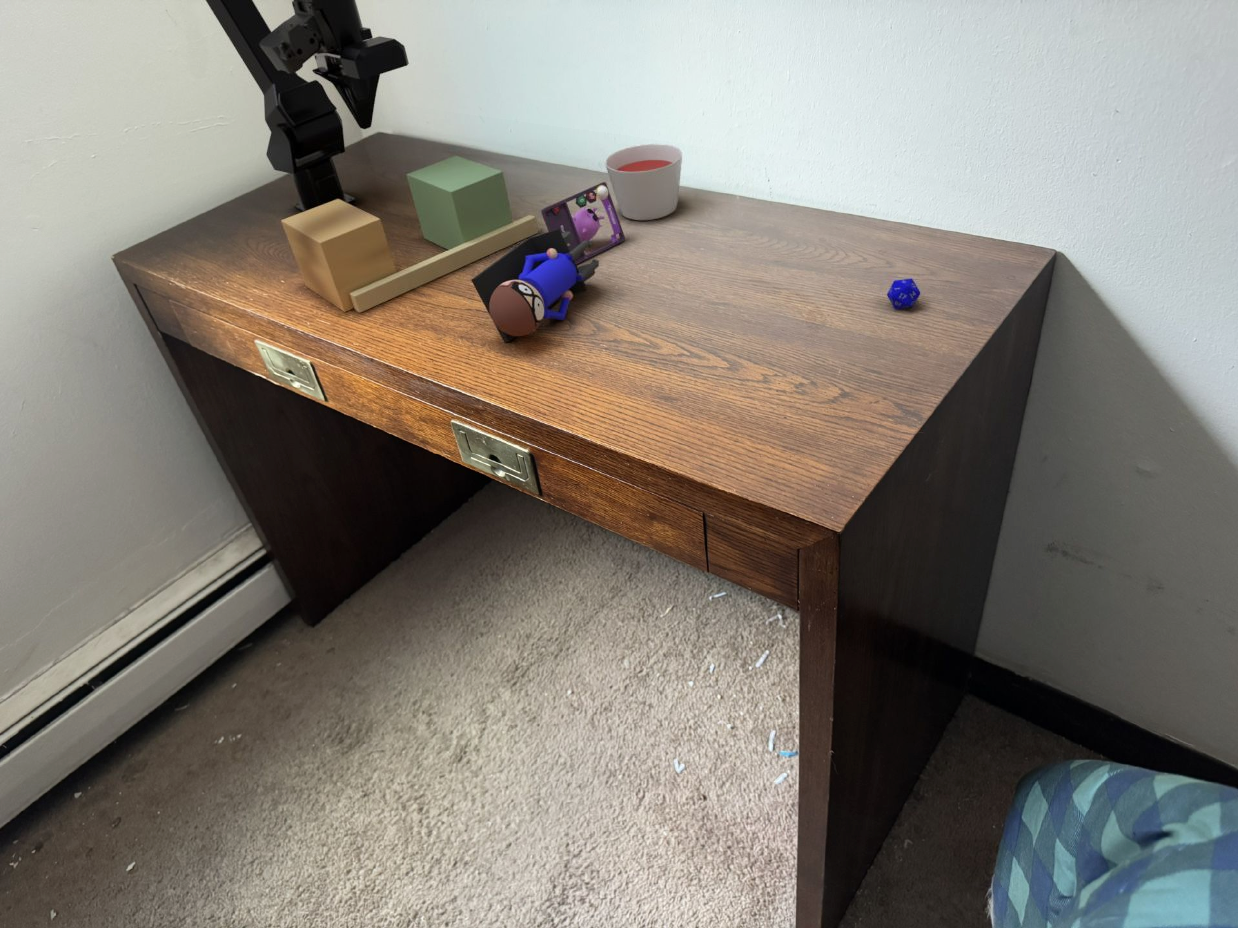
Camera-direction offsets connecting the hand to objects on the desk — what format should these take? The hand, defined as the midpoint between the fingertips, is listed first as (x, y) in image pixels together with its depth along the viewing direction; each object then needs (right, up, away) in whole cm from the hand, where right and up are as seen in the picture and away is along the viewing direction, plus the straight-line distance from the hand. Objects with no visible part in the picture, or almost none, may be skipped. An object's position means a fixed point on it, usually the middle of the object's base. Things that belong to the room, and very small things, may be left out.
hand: (365, 128), depth 104 cm
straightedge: (+11, -18, -6) cm, 22 cm away
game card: (+26, -16, -6) cm, 32 cm away
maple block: (0, -20, -6) cm, 21 cm away
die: (+56, -26, -24) cm, 67 cm away
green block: (+12, -13, +1) cm, 18 cm away
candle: (+34, -10, +1) cm, 35 cm away
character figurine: (+23, -26, -17) cm, 39 cm away
